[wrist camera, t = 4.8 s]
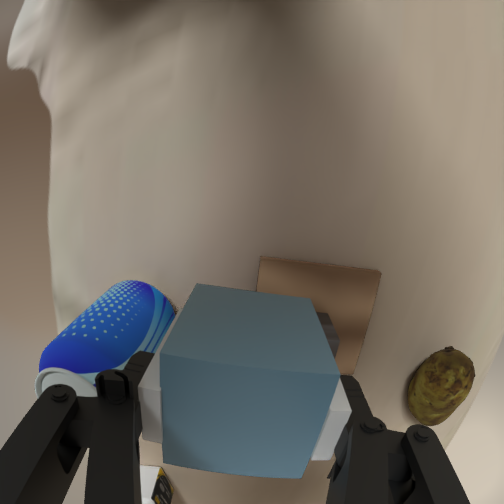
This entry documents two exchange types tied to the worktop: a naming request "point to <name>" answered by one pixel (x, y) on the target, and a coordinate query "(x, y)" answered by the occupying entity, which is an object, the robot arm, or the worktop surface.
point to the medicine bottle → (155, 486)
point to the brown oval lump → (440, 386)
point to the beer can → (106, 337)
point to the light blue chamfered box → (245, 383)
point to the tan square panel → (328, 300)
